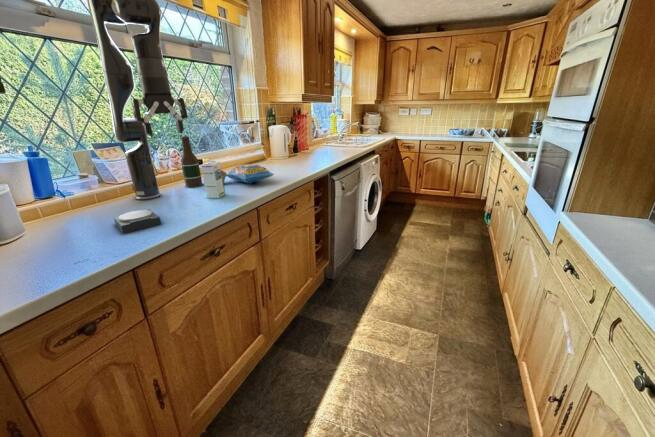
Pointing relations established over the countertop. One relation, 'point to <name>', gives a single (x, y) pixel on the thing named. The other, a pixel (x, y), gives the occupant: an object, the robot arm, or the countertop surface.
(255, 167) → the packet
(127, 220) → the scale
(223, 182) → the cupcake
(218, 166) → the syrup box
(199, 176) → the beer bottle
